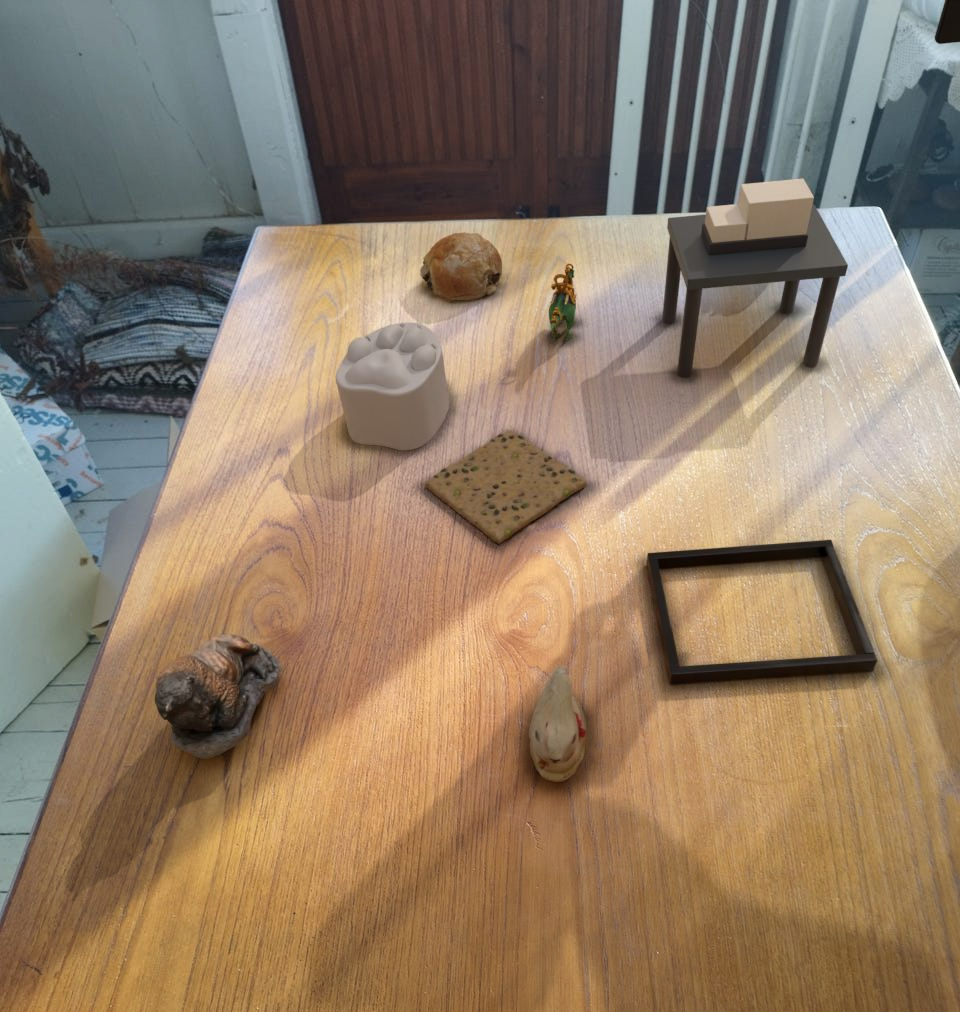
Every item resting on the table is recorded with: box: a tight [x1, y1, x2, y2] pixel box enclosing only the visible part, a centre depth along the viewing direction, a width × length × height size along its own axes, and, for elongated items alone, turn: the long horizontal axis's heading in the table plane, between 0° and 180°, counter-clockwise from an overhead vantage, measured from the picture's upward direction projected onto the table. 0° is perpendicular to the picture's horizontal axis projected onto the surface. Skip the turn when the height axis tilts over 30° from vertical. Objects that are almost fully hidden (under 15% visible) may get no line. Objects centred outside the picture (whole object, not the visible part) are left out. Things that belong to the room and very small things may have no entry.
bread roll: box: [419, 231, 503, 302], centre depth 112 cm, size 10×10×8 cm
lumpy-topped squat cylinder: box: [334, 321, 450, 451], centre depth 95 cm, size 10×13×9 cm
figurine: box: [548, 263, 578, 341], centre depth 101 cm, size 3×12×8 cm, turn 166°
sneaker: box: [701, 178, 815, 255], centre depth 90 cm, size 10×4×5 cm, turn 91°
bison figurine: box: [154, 633, 282, 760], centre depth 70 cm, size 12×7×10 cm, turn 168°
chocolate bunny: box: [528, 664, 588, 783], centre depth 66 cm, size 6×8×10 cm
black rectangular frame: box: [646, 539, 878, 685], centre depth 76 cm, size 17×14×2 cm
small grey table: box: [661, 204, 849, 379], centre depth 96 cm, size 16×13×12 cm
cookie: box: [424, 430, 587, 544], centre depth 88 cm, size 12×12×1 cm
